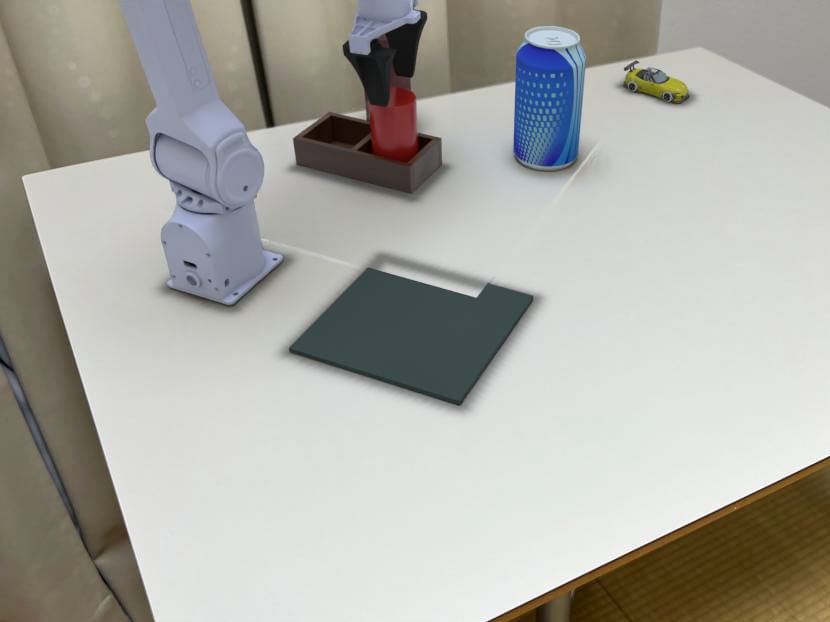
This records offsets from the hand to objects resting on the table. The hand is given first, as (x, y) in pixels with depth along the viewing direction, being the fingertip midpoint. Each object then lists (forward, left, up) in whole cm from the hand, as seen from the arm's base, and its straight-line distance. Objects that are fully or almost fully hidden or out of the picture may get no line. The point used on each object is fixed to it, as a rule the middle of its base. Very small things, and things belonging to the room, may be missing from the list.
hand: (392, 89), depth 104 cm
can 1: (+10, +7, -11) cm, 16 cm away
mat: (-27, -16, -11) cm, 33 cm away
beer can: (+11, -15, -11) cm, 22 cm away
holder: (-1, +4, -11) cm, 11 cm away
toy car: (+39, -22, -11) cm, 47 cm away
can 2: (-1, 0, -10) cm, 10 cm away
